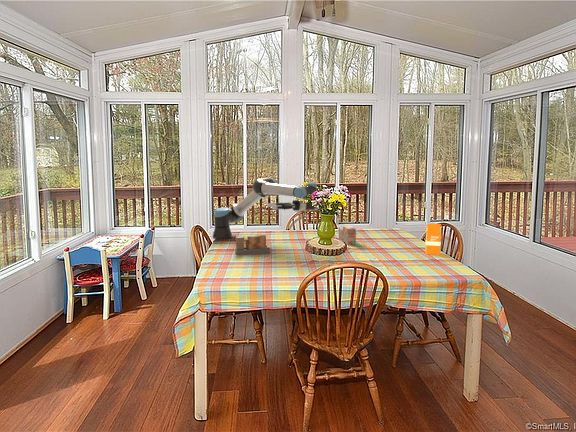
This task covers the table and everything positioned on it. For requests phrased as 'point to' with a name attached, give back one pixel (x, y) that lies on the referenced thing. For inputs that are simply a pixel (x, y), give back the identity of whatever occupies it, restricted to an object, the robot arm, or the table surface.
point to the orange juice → (433, 239)
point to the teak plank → (256, 242)
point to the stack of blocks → (348, 235)
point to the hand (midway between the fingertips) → (269, 206)
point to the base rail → (243, 251)
